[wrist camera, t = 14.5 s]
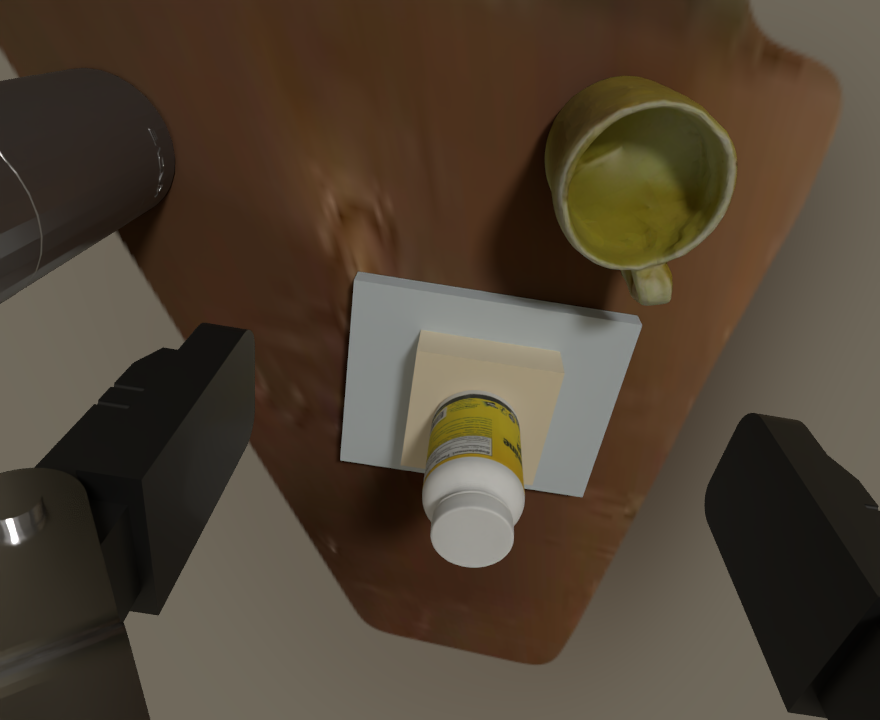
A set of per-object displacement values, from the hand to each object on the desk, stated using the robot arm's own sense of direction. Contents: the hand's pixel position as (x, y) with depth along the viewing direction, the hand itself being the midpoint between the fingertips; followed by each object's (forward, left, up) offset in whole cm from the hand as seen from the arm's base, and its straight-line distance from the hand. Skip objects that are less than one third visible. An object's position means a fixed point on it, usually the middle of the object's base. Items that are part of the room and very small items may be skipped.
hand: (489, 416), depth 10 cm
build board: (+3, -20, -32) cm, 38 cm away
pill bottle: (+3, -20, -28) cm, 34 cm away
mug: (+9, -3, -32) cm, 34 cm away
